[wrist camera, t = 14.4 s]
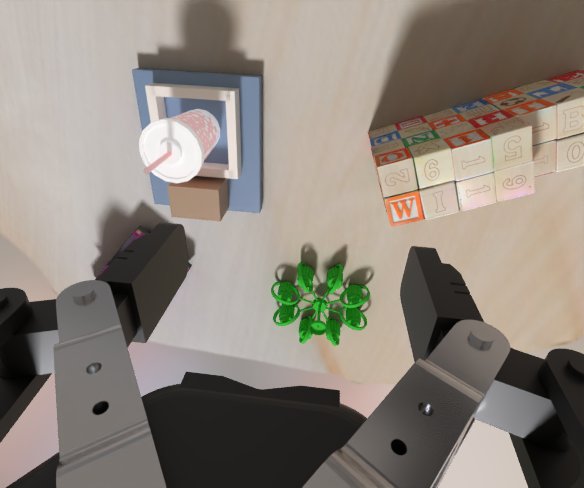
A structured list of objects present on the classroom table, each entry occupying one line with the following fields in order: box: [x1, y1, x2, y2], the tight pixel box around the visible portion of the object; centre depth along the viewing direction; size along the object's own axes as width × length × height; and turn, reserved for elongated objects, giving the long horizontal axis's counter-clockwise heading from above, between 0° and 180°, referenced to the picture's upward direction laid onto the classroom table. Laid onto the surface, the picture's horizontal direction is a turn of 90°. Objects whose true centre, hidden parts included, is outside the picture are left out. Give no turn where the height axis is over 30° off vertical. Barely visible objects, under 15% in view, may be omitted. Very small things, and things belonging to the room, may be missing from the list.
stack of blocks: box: [368, 70, 584, 227], centre depth 35 cm, size 21×6×12 cm, turn 109°
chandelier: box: [271, 263, 370, 346], centre depth 52 cm, size 15×15×7 cm
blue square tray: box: [132, 68, 262, 221], centre depth 42 cm, size 16×14×6 cm
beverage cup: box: [139, 109, 220, 183], centre depth 36 cm, size 6×6×14 cm
